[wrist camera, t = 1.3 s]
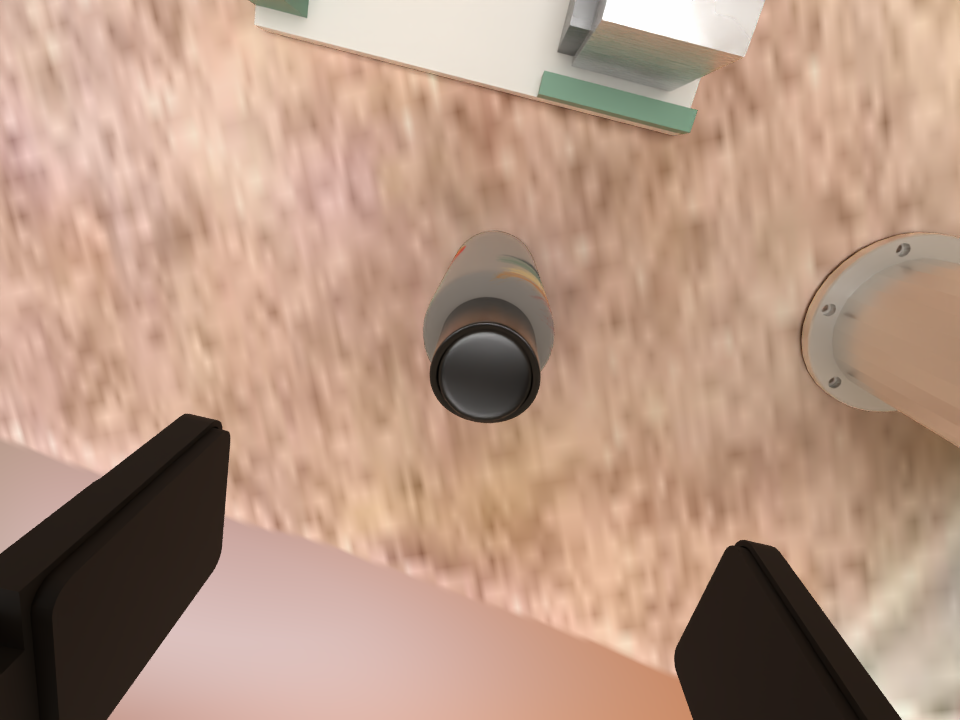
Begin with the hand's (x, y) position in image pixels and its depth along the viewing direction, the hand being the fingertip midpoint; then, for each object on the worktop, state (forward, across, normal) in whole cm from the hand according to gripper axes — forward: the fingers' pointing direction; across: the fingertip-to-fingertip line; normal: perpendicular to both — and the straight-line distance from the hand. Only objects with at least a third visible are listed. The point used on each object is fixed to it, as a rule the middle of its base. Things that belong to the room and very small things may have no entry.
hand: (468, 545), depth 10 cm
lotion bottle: (+28, 0, 0) cm, 28 cm away
